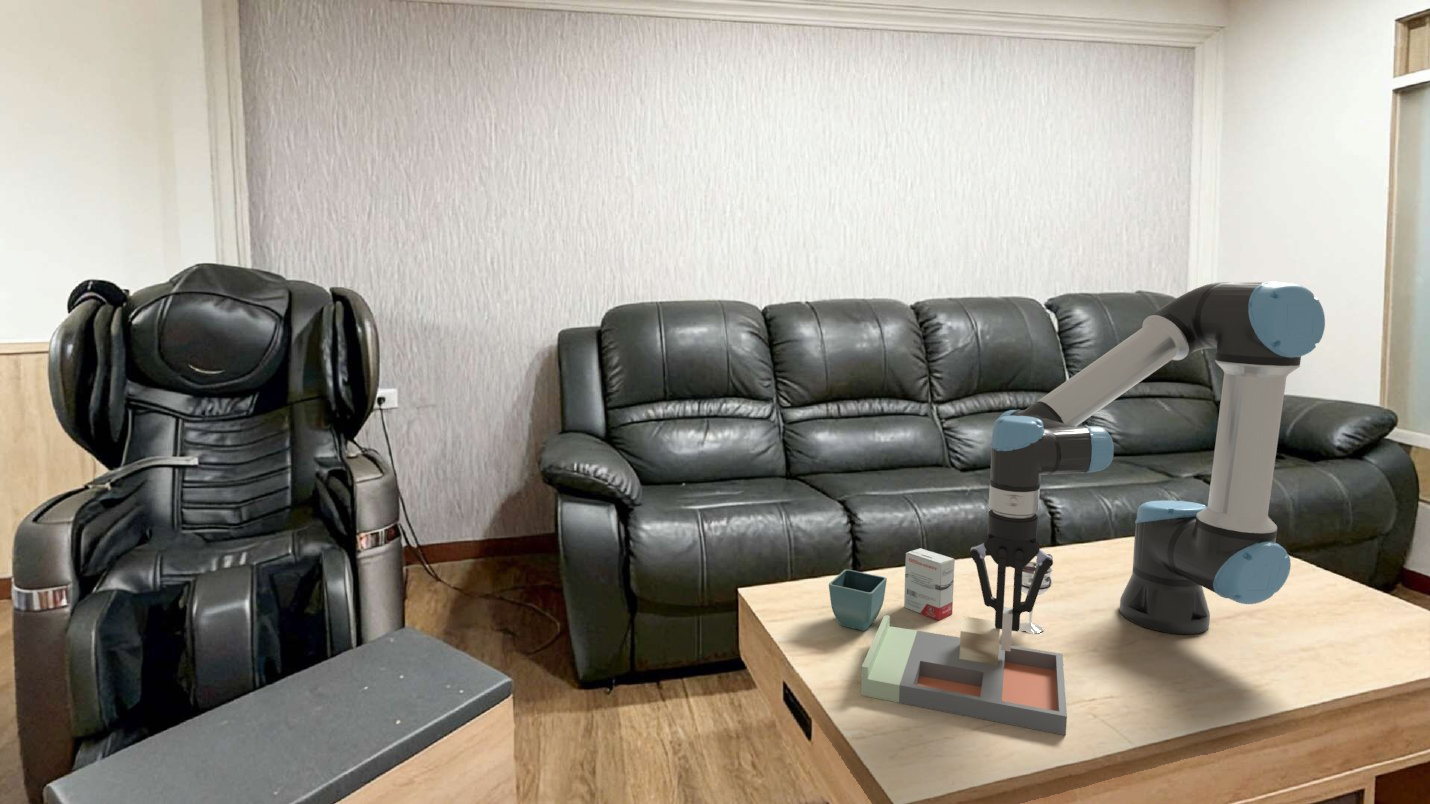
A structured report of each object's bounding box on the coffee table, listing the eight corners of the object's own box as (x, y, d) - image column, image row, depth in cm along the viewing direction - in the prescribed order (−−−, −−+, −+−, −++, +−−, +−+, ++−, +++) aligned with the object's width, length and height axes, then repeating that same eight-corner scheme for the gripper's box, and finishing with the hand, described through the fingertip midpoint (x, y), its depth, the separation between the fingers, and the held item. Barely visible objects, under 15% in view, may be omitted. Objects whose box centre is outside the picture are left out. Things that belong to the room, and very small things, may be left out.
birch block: (999, 648, 130) (1000, 621, 129) (997, 665, 125) (998, 637, 124) (962, 643, 133) (963, 616, 132) (959, 658, 127) (960, 631, 126)
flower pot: (870, 638, 141) (871, 593, 140) (827, 628, 146) (827, 583, 144) (886, 620, 148) (887, 577, 147) (844, 610, 153) (845, 568, 152)
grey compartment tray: (1061, 670, 129) (1063, 642, 128) (1065, 735, 111) (1067, 704, 110) (883, 640, 140) (884, 615, 139) (861, 695, 122) (861, 666, 121)
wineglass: (1054, 627, 145) (1058, 567, 143) (1041, 639, 140) (1045, 578, 138) (1018, 616, 149) (1021, 558, 147) (1005, 628, 144) (1008, 569, 142)
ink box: (953, 614, 151) (955, 557, 149) (939, 621, 148) (941, 563, 146) (917, 600, 157) (919, 546, 155) (903, 607, 154) (904, 552, 152)
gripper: (969, 513, 122) (963, 650, 126) (1057, 522, 117) (1048, 664, 121) (972, 501, 129) (966, 631, 133) (1056, 509, 124) (1047, 643, 128)
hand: (1006, 647), depth 127 cm, fingers closed
